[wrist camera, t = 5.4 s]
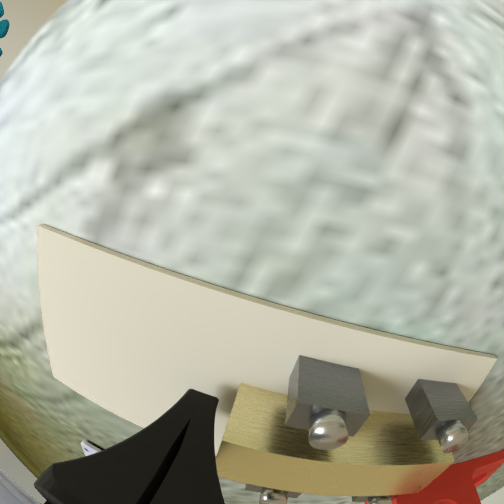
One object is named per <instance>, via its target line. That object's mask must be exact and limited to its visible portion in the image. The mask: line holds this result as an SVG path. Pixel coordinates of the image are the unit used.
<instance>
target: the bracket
mask: <svg viewBox="0 0 504 504" xmlns="http://www.w3.org/2000/svg"><path fill="white" fill-rule="evenodd" d="M503 463H504V450H501V451H498V452H495V453H492V454H489V455H486V456H483V457H479V458H476V459H473V460H469V461H465V462H461V463H457V464H453V465H450V466H449V467H448V468H447V469H446V470H445V471H444V472H442V473H441V474H440V475H439V476H438V477H437V478H436V479H434V480H433V481H432V482H431V483H430V484H429V485H427V486H426V487H425V488H424V489H422V490H421V491H420V492H419V493H411V494H401V495H399V496H397V497H396V498H395V499H393V500H392V504H481V502H480V499H479V496H478V493H477V490H476V487H477V486H479V485H481V484H482V483H483V482H484V481H486V480H487V479H488V478H489V477H490V476H491V475H492V474H493V473H494V472H495V471H496V470H497V469H498V468H499V467H500V466H501V465H502V464H503ZM365 504H368V502H365Z"/></svg>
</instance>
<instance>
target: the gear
mask: <svg viewBox="0 0 504 504" xmlns="http://www.w3.org/2000/svg"><path fill="white" fill-rule="evenodd" d="M3 14H4V10H3V6H2V3H1V2H0V17H2V16H3ZM8 28H9V22H8V20H2V21H1V22H0V38H3V37H4V36H5V35H6V34H7V32H8ZM1 55H2V50H1V48H0V56H1Z"/></svg>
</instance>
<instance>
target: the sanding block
mask: <svg viewBox="0 0 504 504" xmlns="http://www.w3.org/2000/svg"><path fill="white" fill-rule="evenodd" d="M287 397H288V395H285V394H281V393H277V392H273V391H269V390H265V389H261V388H257V387H254V386H250V385H247V384H243V383H240V386H239V389H238V392H237V395H236V398H235V401H234V404H233V407H232V410H231V413H230V416H229V419H228V421H227V425H226V428H225V431H224V434H223V437H222V440H221V443H220V446H219V449H218V452H217V455H216V458H215V459H216V467H217V473H218V476H220V477H223V478H227V479H231V480H235V481H239V482H243V483H247V484H252V485H256V486H261V487H267V488H272V489H278V490H284V491H291V492H299V493H307V494H318V495H332V496H387V495H401V494H411V493H419V492H420V491H421V490H422V489H424V488H425V487H426V486H427V485H429V484H430V483H431V482H432V481H433V480H434V479H436V478H437V477H438V476H439V475H440V474H441V473H442V472H444V471H445V470H446V469H447V468H448V467H449V466H450V465H451V464H452V463H453V462H454V461H455V460H454V457H453V455H452V452H450V453H443V452H442V449H441V447H440V444H439V441H438V440H419V437H418V434H417V431H416V428H415V425H414V423H413V420H412V417H411V414H401V413H390V412H381V411H372V410H369V411H370V416H369V417H368V418H367V420H366V421H365V422H364V424H363V425H362V426H361V428H360V429H359V430H358V432H357V433H356V434H355V435H354V437H353V436H349V438H348V440H347V442H346V443H345V444H344V445H342V446H340V447H338V448H336V449H331V450H319V449H316V448H313V447H312V446H311V445H310V444H309V430H306V429H300V428H295V427H290V426H285V418H286V408H287Z"/></svg>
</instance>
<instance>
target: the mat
mask: <svg viewBox="0 0 504 504" xmlns="http://www.w3.org/2000/svg"><path fill="white" fill-rule="evenodd" d="M38 277H39V291H40V302H41V311H42V318H43V325H44V332H45V338H46V344H47V349H48V354H49V359H50V364H51V368H52V372H53V376H54V377H55V378H56V379H58V380H59V381H61V382H62V383H64V384H65V385H67V386H68V387H70V388H71V389H73V390H74V391H76V392H78V393H79V394H81V395H82V396H84V397H86V398H87V399H89V400H91V401H92V402H94V403H96V404H98V405H99V406H101V407H103V408H105V409H107V410H109V411H110V412H112V413H114V414H116V415H118V416H120V417H122V418H124V419H126V420H128V421H130V422H132V423H134V424H136V425H138V426H141V427H143V428H145V427H147V426H148V425H150V424H151V423H153V422H154V421H155V420H157V419H158V418H159V417H160V416H162V415H163V414H164V413H165V412H166V411H168V410H169V409H170V408H171V407H172V406H173V405H174V404H175V403H176V402H177V401H178V400H179V399H180V398H181V397H182V396H183V395H184V394H185V393H186V392H187V391H188V389H194V390H197V391H200V392H202V393H205V394H208V395H211V396H214V397H217V398H218V399H219V402H218V406H217V409H216V414H215V424H214V446H215V455H217V452H218V449H219V446H220V443H221V440H222V437H223V434H224V431H225V428H226V425H227V421H228V419H229V416H230V413H231V410H232V407H233V404H234V401H235V398H236V395H237V392H238V389H239V386H240V383H243V384H247V385H250V386H254V387H257V388H261V389H265V390H269V391H273V392H277V393H281V394H285V395H288V386H289V377H290V375H291V373H292V370H293V368H294V366H295V363H296V361H297V359H298V356H299V355H302V356H306V357H310V358H314V359H318V360H322V361H327V362H331V363H335V364H340V365H345V366H349V367H354V368H359V370H360V374H361V378H362V382H363V386H364V390H365V394H366V398H367V403H368V407H369V410H372V411H381V412H390V413H401V414H410V412H409V409H408V406H407V403H406V401H405V398H406V396H407V395H408V393H409V392H410V390H411V389H412V387H413V386H414V384H415V383H416V381H417V380H418V379H425V380H433V381H441V382H450V383H457V385H458V387H459V388H460V390H461V391H462V393H463V395H464V396H465V398H466V400H467V402H468V403H469V401H470V400H471V398H472V397H473V396H474V394H475V393H476V391H477V390H478V389H479V387H480V386H481V384H482V383H483V381H484V380H485V378H486V377H487V375H488V373H489V372H490V370H491V369H492V367H493V365H494V364H495V362H496V360H497V358H496V357H495V356H494V355H492V354H486V353H481V352H475V351H470V350H465V349H460V348H455V347H450V346H445V345H440V344H435V343H430V342H426V341H421V340H417V339H412V338H408V337H403V336H399V335H394V334H390V333H386V332H382V331H378V330H373V329H369V328H365V327H361V326H357V325H353V324H349V323H345V322H341V321H338V320H334V319H330V318H326V317H322V316H319V315H315V314H311V313H308V312H304V311H300V310H297V309H293V308H290V307H286V306H283V305H279V304H276V303H272V302H269V301H265V300H262V299H258V298H255V297H252V296H248V295H245V294H242V293H238V292H235V291H232V290H229V289H225V288H222V287H219V286H216V285H213V284H209V283H206V282H203V281H200V280H197V279H194V278H191V277H188V276H185V275H182V274H179V273H176V272H173V271H170V270H167V269H164V268H161V267H158V266H155V265H152V264H149V263H146V262H143V261H140V260H138V259H135V258H132V257H129V256H126V255H124V254H121V253H118V252H115V251H112V250H110V249H107V248H104V247H102V246H99V245H96V244H94V243H91V242H88V241H86V240H83V239H80V238H78V237H75V236H73V235H70V234H67V233H65V232H62V231H60V230H57V229H55V228H52V227H50V226H47V225H45V224H41V225H38Z"/></svg>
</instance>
